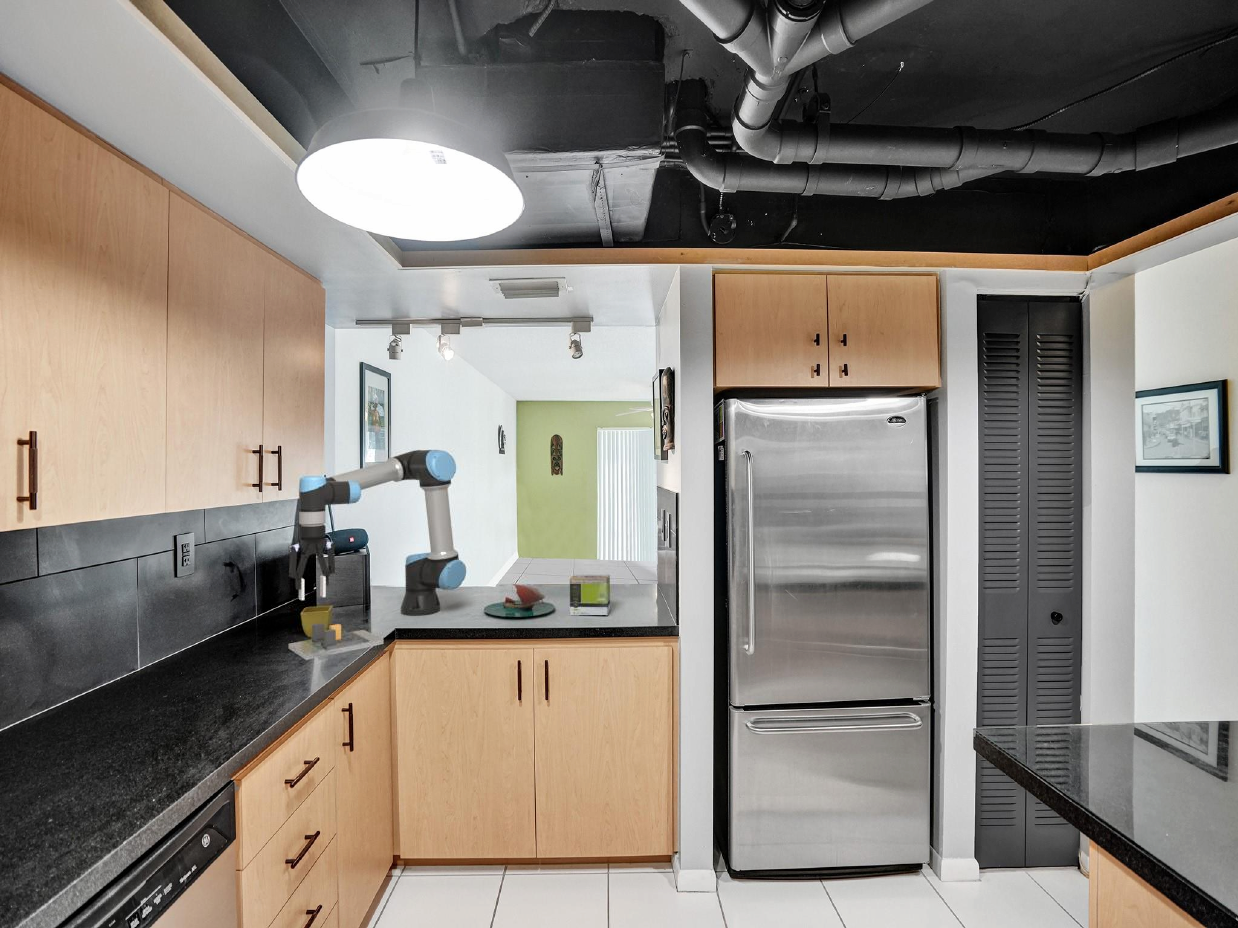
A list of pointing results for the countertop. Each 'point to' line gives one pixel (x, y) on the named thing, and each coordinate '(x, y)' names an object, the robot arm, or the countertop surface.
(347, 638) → the panel
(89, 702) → the countertop surface
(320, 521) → the robot arm
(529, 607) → the sailing ship model
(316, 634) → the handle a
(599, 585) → the tea box
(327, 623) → the flower pot
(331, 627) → the orange upright block
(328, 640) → the handle
